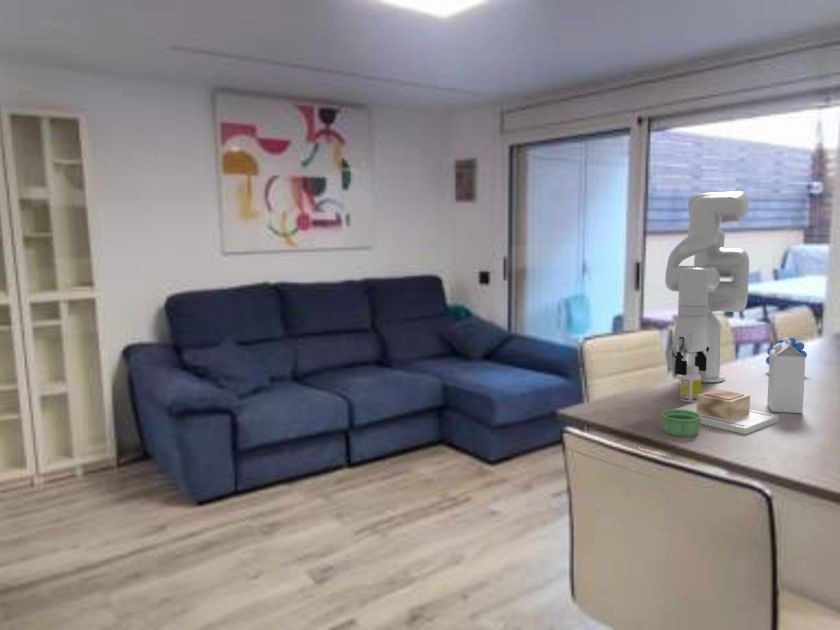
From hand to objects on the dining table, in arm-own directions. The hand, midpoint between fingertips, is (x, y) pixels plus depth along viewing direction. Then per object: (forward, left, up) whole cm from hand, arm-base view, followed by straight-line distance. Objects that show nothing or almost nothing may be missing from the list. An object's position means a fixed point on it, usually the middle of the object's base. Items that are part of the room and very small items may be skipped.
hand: (690, 372), depth 180 cm
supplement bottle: (0, +1, -9) cm, 9 cm away
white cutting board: (+15, -9, -8) cm, 19 cm away
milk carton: (+21, +11, -9) cm, 25 cm away
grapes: (+1, +55, -9) cm, 55 cm away
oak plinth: (+15, -9, -7) cm, 19 cm away
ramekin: (+14, -26, -9) cm, 31 cm away
